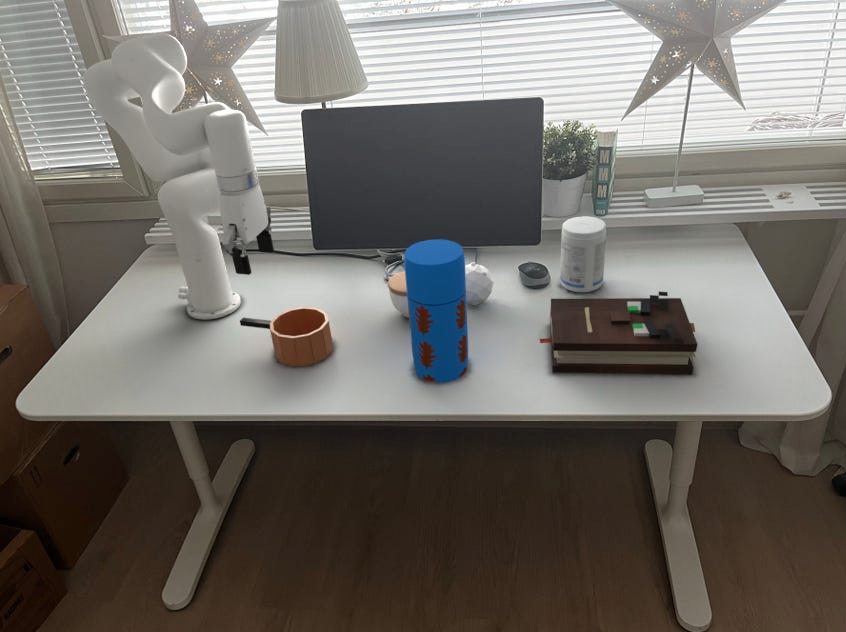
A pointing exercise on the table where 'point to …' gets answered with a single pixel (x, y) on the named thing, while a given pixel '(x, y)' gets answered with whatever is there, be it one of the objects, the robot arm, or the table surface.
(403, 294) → the trinket box
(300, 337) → the copper saucepan
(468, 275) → the decorative ball
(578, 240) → the supplement tub
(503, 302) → the table surface
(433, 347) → the thermos
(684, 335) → the decorative book
